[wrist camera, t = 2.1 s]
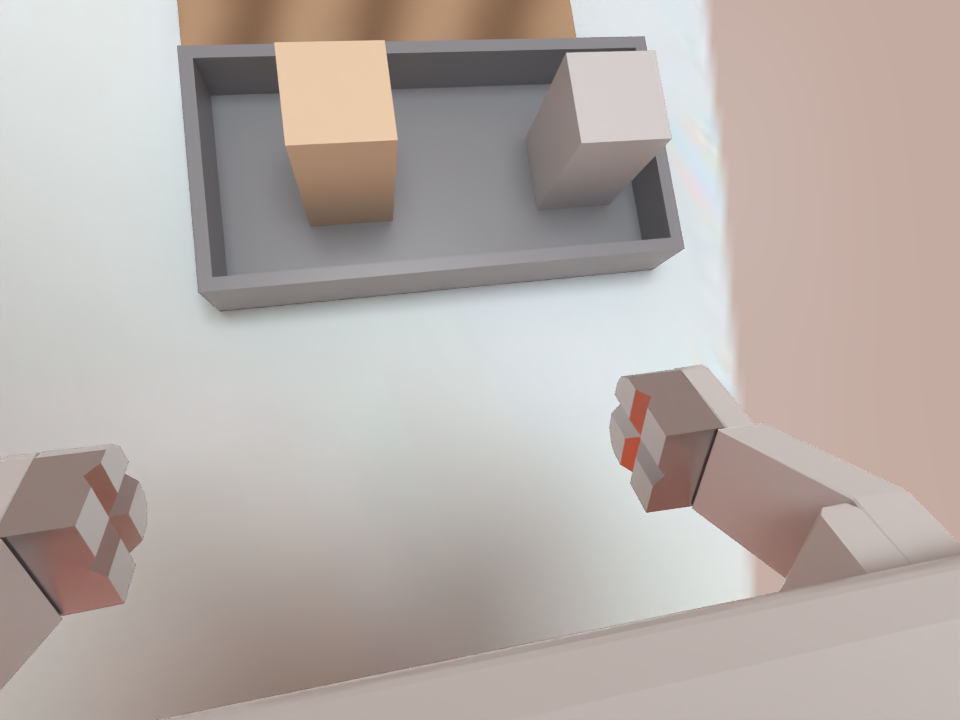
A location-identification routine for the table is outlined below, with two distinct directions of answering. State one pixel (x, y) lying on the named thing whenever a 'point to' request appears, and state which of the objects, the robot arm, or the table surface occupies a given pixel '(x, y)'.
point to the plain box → (596, 128)
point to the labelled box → (339, 128)
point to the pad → (370, 20)
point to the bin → (405, 182)
